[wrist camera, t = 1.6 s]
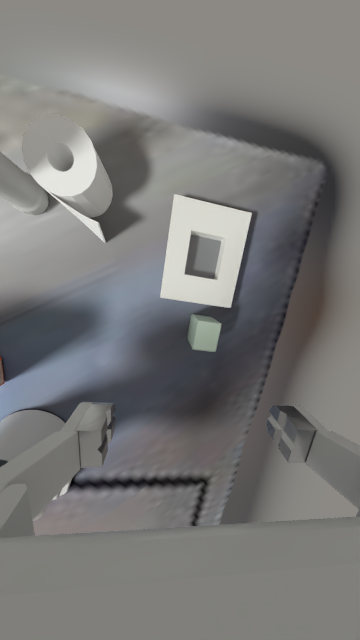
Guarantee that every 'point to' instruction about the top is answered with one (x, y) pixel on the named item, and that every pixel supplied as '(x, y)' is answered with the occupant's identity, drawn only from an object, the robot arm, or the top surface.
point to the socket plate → (203, 252)
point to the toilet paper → (68, 167)
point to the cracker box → (1, 372)
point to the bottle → (21, 188)
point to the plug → (203, 333)
